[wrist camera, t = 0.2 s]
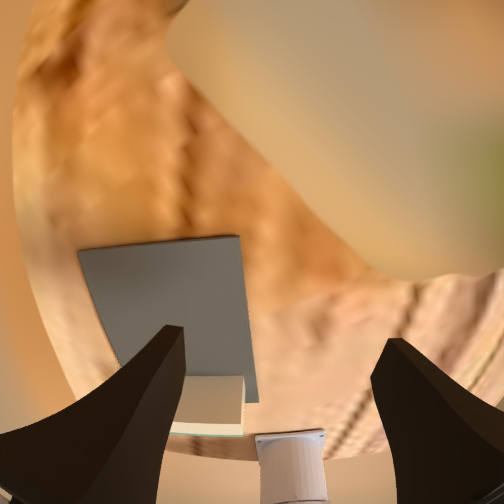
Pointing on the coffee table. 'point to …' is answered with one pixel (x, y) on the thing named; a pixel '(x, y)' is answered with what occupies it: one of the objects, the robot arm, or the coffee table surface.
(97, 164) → the coffee table surface
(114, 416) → the robot arm
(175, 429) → the tile
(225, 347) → the mat
